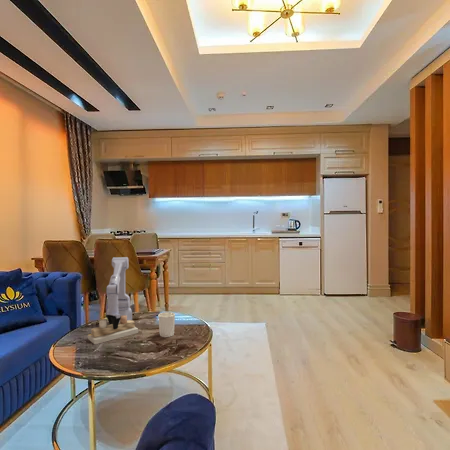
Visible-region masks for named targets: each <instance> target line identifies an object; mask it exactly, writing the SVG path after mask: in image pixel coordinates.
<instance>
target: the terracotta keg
mask: <svg viewBox="0 0 450 450" xmlns="http://www.w3.org/2000/svg"><path fill="white" fill-rule="evenodd" d="M125 323H127V315H122V316H121V319H120V324H125Z"/></svg>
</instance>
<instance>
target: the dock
mask: <svg viewBox="0 0 450 450" xmlns="http://www.w3.org/2000/svg"><path fill="white" fill-rule="evenodd" d="M138 333H139V328H138V327H136V326H135V327H134V328H130V329H126V330H122V331H118V332H114V333H110V334H106V335H102V336H98V337H94V336H93V335H92V334H91V333H90V334H87V340H88V341H90V342H91V343H92V344H93V345H98V344H102V343H106V342H109V341H113V340H117V339H120V338H124V337H128V336H131V335H136V334H138Z"/></svg>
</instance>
